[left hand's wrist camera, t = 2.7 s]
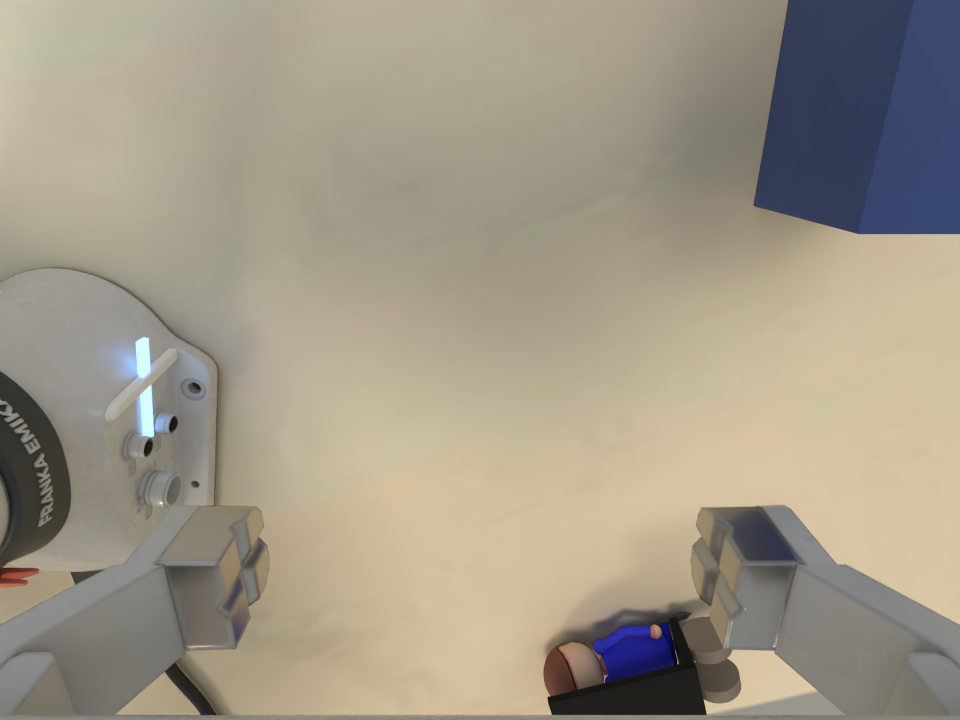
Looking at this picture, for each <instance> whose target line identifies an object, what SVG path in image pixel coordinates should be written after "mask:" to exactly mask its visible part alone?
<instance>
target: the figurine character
mask: <svg viewBox="0 0 960 720" xmlns="http://www.w3.org/2000/svg"><path fill="white" fill-rule="evenodd" d="M691 614H692V613H689V612H682V613H679V614H676V615H673V616H670V617H667V618H664V619H661V620H658V622H657V623H656V624H655V625H651V626H622V627H621V628H619V629H618V630H617V631H615V632H614V633H612V634H611V635H610V636H608V637H607V638H605V639H604V640H595V641H594V643H593V648H594V650H595V652H596V653H598V654H600V655H601V657H602V658H601V659H598V658H597V656H596V655H595V654H594V652H593V651H592V650H591V649H589V648H588V647H587V646H585V645H583V644H581V643H577V642H565V643H562V644H560V645H558V646H556V647H555V648H554V649H553V650H552V651H551V652H550V653H549V655H548V657H547V659H546V661H545V665H544V682H545V686H546V688H547V691H548V693H549V694H550V697H548V703H549V707H550V710H551V713H552V715H707V714H706V709H705V704H704V700H706V701H709V702H712V703H726V702H729V701H732V700H733V699H735V698H736V697H737V696H738V694H739V693H740V690H741V682H740V676H739V671H738V669H737V667H736V665H735V664H734V663H733V662H731V661H730V660H728V659H727V658H728V657H729V656H730V654H731V652H732V649H724V647H723V645H722V643H721V641H720V639H719V637H718V635H717V633H716V631H715V629H714V627H713V625H712V623H711V620H710V618H709V617H699V618H695V619H692V620H690V621H688V622H687V623H686V624H685V625H684V626H683V628H682V630H681V628H680V625H679V623H678V621H680V620H683V619H686V618H688V617H689V616H690V615H691ZM668 624H670V625H671V630H672V634H673V639H674V640H672V637H671V632H670V628H669V625H668ZM660 627H661V628H660ZM626 636H629V637H626ZM624 637H626V638H624ZM675 650H676V652H677V656H678V661H679V664H678V665H677V658H676V654H675ZM599 660H600V661H599ZM693 660H694V661H696V662H695V663H694V661H693ZM603 672H604V675H608V676H607V677H606V679H605V683H604V675H603ZM703 699H704V700H703Z"/></svg>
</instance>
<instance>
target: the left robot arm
mask: <svg viewBox="0 0 960 720" xmlns="http://www.w3.org/2000/svg"><path fill="white" fill-rule="evenodd" d="M193 383H197V384H198V385H199V386H200V388H201V390H199V389H196V388H195V387H194V386H193ZM217 383H218V371H217V366H216V364H215V363H214V361H213V360H212V359H211V358H210V357H209V356H208V355H206V354H205V353H204V352H202V351H200V350H199V349H197V348H195V347H194V346H192V345H190V344H188V343H186V342H184V341H182V340H181V339H179V338H177V337H176V336H175V335H174V334H172V333H171V332H170V331H169V330H168V329H167V328H166V327H165V326H164V324H163V323H162V322H161V321H160V320H159V319H158V318H157V317H156V316H155V315H154V314H153V313H152V312H151V311H150V310H149V309H148V308H147V307H146V306H145V305H144V304H143V303H142V302H140V301H139V300H138V299H136V298H135V297H134V296H132V295H131V294H130V293H128V292H127V291H125V290H123V289H122V288H120V287H118V286H116V285H115V284H113V283H111V282H109V281H106V280H104V279H102V278H99V277H97V276H94V275H91V274H87V273H84V272H80V271H75V270H69V269H61V268H43V269H35V270H30V271H26V272H22V273H19V274H16V275H14V276H12V277H10V278H8V279H6V280H4V281H3V282H1V283H0V587H13V586H21V585H26V584H27V583H28V581H27V580H22V579H21V578H24V577H28V576H32V575H35V574H37V573H38V572H39V571H47V572H71V575H72V577H73V580H74V582H75V585H74V586H73V587H71V588H69V589H67V590H65V591H63V592H61V593H59V594H57V595H56V596H54V597H52V598H50V599H48V600H46V601H44V602H42V603H40V604H39V605H37V606H35V607H33V608H31V609H29V610H27V611H25V612H23V613H22V614H20V615H18V616H16V617H14V618H12V619H10V620H8V621H6V622H5V623H3V624H1V625H0V720H960V625H959V624H957V623H955V622H953V621H951V620H950V619H948V618H946V617H944V616H942V615H940V614H938V613H936V612H934V611H933V610H931V609H929V608H927V607H925V606H923V605H921V604H919V603H917V602H916V601H914V600H912V599H910V598H908V597H906V596H904V595H902V594H901V593H899V592H897V591H895V590H893V589H891V588H889V587H887V586H885V585H884V584H882V583H880V582H878V581H876V580H874V579H872V578H870V577H868V576H867V575H865V574H863V573H861V572H859V571H857V570H855V569H853V568H852V567H850V566H848V565H837V564H836V562H835V561H834V560H833V559H832V558H831V556H830V555H829V554H828V553H827V552H826V550H825V549H824V548H823V547H822V546H821V544H820V543H819V542H818V541H817V540H816V538H815V537H814V536H813V535H812V534H811V532H810V531H809V530H808V529H807V528H806V526H805V525H804V524H803V523H802V522H801V521H800V519H799V518H798V517H797V516H796V515H795V513H794V512H793V511H792V510H791V509H790V508H789V507H787V506H785V505H768V506H756V507H701V509H700V511H699V513H698V517H697V523H696V527H697V529H698V530H699V532H700V534H701V536H702V537H701V538H700V539H699V540H698V541H697V542H696V543H695V544H694V545H693V546H692V554H691V571H692V578H693V582H694V585H695V588H696V590H697V593H698V595H699V597H700V599H702V600H703V601H704V602H706V603H707V604H708V605H710V606H711V612H710V617H709V618H710V620H711V623H712V625H713V627H714V629H715V631H716V633H717V635H718V637H719V639H720V641H721V643H722V645H723V647H724V649H737V650H773V651H775V654H776V655H777V656H779V657H780V658H781V659H782V660H783V661H784V662H786V663H787V664H788V665H789V666H790V667H791V668H792V669H794V670H795V671H796V672H797V673H798V674H799V675H800V676H802V677H803V678H804V679H805V680H806V681H807V682H809V683H810V684H811V685H812V686H813V687H814V688H815V689H817V690H818V691H819V692H820V693H821V694H822V695H824V696H825V697H826V698H827V699H828V700H829V701H830V702H832V703H833V704H834V705H835V706H836V707H837V708H838V709H840V710H841V711H842V712H843V713H844V714H845V715H216V713H215V712H214V710H213V708H212V707H211V705H210V704H209V702H208V701H207V700H206V698H205V697H204V696H203V695H202V693H201V692H200V691H199V690H198V689H197V688H196V687H195V686H194V684H193V683H192V682H191V681H190V680H189V679H188V678H187V677H186V676H185V675H184V673H183V672H182V671H181V670H180V668H179V667H178V666H177V664H176V663H175V662H176V661H177V660H178V659H179V658H181V657H182V656H183V655H184V654H185V651H187V650H222V649H236V648H237V645H238V643H239V641H240V639H241V637H242V635H243V633H244V631H245V629H246V627H247V625H248V623H249V620H250V618H251V617H250V612H249V606H250V605H252V604H253V603H254V602H256V601H257V600H258V599H260V597H261V595H262V593H263V590H264V588H265V586H266V581H267V577H268V572H269V553H268V546H267V545H266V544H265V543H264V542H263V541H262V540H261V539H260V538H259V537H258V536H259V534H260V532H261V530H262V529H263V527H264V523H263V518H262V513H261V510H260V509H258V508H257V507H252V506H214V490H215V454H216V419H217ZM6 564H7V565H10V566H14V567H18V568H3V567H4V566H5V565H6ZM164 671H165V672H166V674H167V675H168V677H169V678H170V679H171V680H172V681H173V683H174V684H175V685H176V686H177V687H178V688H179V689H180V690H181V691H182V692H183V694H184V695H185V696H186V697H187V698H188V699H189V700H190V701H191V702H192V703H193V705H194V706H195V707H196V708H197V710H198V711H199V712H200V714H201V715H115V714H116V713H117V712H118V711H119V710H121V709H122V708H123V707H124V706H125V705H126V704H128V703H129V702H130V701H131V700H132V699H133V698H134V697H136V696H137V695H138V694H139V693H140V692H141V691H142V690H144V689H145V688H146V687H147V686H148V685H149V684H151V683H152V682H153V681H154V680H155V679H156V678H157V677H159V676H160V675H161V674H162V673H163V672H164Z"/></svg>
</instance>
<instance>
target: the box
mask: <svg viewBox="0 0 960 720" xmlns="http://www.w3.org/2000/svg"><path fill="white" fill-rule="evenodd" d="M754 206H756V207H760V208H764V209H767V210H771V211H775V212H779V213H782V214H786V215H790V216H793V217H797V218H801V219H805V220H808V221H812V222H816V223H819V224H823V225H827V226H831V227H834V228H838V229H842V230H845V231H849V232H853V233H857V234H960V0H789V3H788V9H787V15H786V21H785V27H784V32H783V38H782V44H781V50H780V56H779V62H778V67H777V73H776V79H775V85H774V91H773V97H772V103H771V108H770V114H769V120H768V126H767V132H766V138H765V143H764V149H763V155H762V161H761V167H760V173H759V178H758V184H757V190H756V196H755V202H754Z"/></svg>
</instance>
